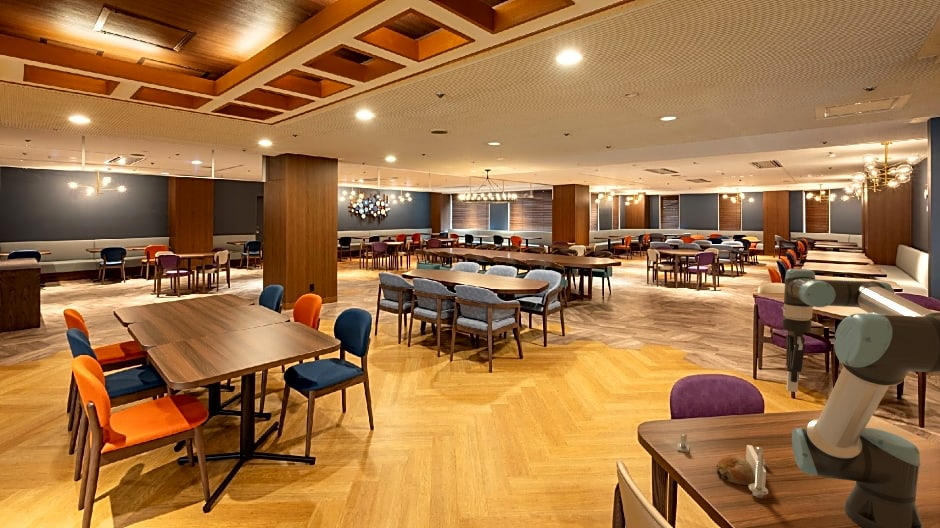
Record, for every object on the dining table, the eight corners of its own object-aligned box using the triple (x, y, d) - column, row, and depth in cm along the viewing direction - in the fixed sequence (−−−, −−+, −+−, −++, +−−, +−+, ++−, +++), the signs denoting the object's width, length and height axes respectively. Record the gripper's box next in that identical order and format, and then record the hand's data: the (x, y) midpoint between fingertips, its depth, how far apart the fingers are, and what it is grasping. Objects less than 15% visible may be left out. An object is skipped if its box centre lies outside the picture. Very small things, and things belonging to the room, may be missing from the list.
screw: (760, 502, 130) (744, 492, 135) (771, 498, 132) (755, 489, 137) (763, 457, 129) (746, 449, 133) (774, 454, 131) (758, 446, 135)
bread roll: (750, 499, 138) (765, 478, 136) (716, 480, 140) (731, 458, 138) (741, 481, 147) (755, 461, 146) (709, 463, 149) (723, 443, 148)
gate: (751, 459, 151) (752, 445, 151) (765, 486, 136) (766, 471, 135) (745, 458, 152) (746, 444, 151) (759, 485, 136) (760, 470, 136)
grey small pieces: (765, 467, 149) (766, 452, 148) (677, 450, 159) (678, 436, 159) (763, 460, 153) (764, 446, 152) (677, 445, 163) (678, 431, 163)
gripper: (778, 313, 154) (773, 382, 157) (788, 321, 142) (782, 396, 145) (805, 315, 152) (800, 385, 154) (817, 323, 140) (811, 399, 142)
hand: (791, 390), depth 149 cm, fingers closed
